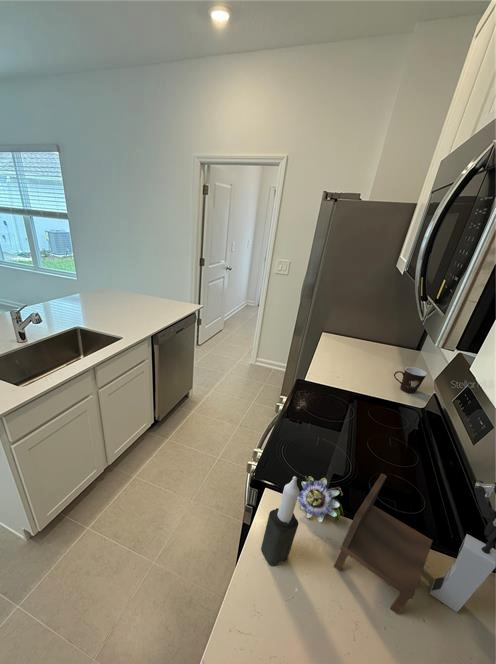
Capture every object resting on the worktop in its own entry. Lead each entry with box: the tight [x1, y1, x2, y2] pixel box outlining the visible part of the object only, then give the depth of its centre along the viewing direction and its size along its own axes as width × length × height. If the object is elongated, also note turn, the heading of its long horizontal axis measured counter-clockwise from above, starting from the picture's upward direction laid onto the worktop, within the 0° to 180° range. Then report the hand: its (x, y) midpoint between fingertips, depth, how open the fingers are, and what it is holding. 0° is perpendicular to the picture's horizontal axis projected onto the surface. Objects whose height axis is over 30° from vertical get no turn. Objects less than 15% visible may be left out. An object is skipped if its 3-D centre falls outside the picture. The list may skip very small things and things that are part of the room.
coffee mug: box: [393, 366, 428, 395], centre depth 142 cm, size 12×9×10 cm
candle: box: [260, 475, 300, 567], centre depth 65 cm, size 5×5×25 cm
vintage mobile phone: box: [429, 533, 496, 613], centre depth 59 cm, size 4×5×25 cm
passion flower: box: [297, 475, 344, 523], centre depth 81 cm, size 11×11×12 cm
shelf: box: [333, 473, 433, 615], centre depth 66 cm, size 16×14×18 cm
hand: (493, 539), depth 55 cm, fingers closed on vintage mobile phone, 1 cm apart
